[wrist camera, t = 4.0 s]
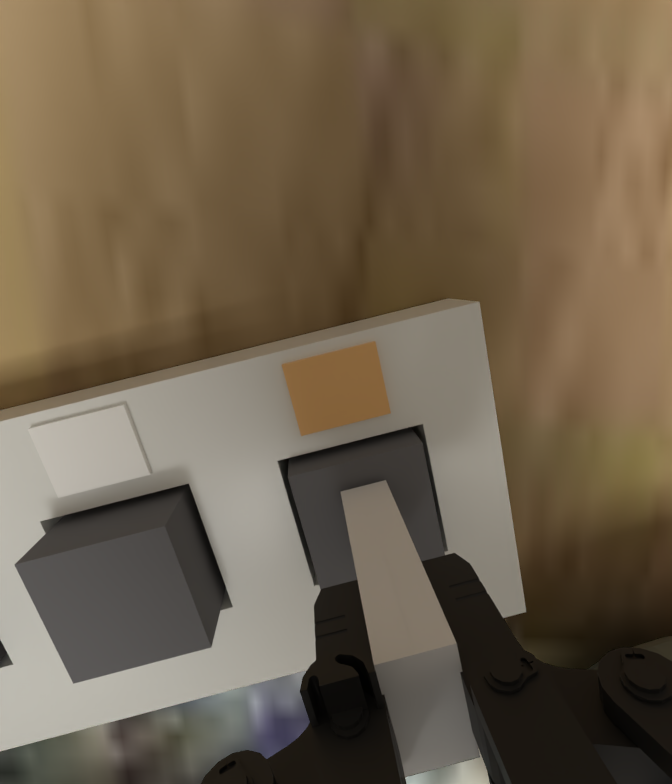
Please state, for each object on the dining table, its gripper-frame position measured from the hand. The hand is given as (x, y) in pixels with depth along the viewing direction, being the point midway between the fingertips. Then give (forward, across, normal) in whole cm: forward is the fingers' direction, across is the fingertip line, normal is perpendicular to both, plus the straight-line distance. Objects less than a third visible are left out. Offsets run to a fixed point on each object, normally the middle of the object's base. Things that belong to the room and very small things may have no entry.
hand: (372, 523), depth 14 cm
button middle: (+2, -8, 0) cm, 8 cm away
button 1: (+3, 0, 0) cm, 3 cm away
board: (+4, -8, 0) cm, 9 cm away
